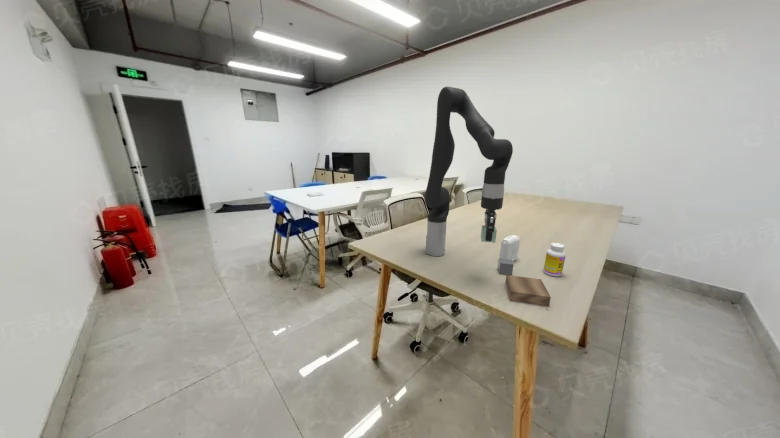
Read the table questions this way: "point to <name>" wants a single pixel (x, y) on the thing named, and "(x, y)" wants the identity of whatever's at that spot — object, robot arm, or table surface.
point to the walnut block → (527, 290)
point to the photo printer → (510, 248)
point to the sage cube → (483, 234)
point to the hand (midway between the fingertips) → (487, 238)
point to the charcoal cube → (505, 266)
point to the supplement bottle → (554, 260)
